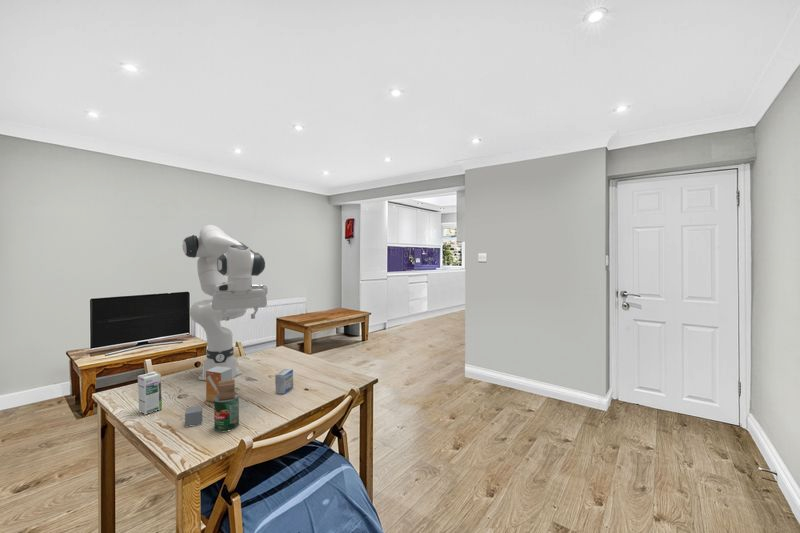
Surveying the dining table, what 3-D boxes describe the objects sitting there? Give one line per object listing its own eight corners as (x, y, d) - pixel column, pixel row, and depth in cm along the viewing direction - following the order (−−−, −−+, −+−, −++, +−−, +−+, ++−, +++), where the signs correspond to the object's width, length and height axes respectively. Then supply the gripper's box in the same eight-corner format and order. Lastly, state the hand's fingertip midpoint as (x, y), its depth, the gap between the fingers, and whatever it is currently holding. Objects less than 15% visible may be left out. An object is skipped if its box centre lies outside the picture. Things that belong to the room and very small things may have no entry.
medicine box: (284, 394, 151) (284, 375, 151) (275, 393, 152) (275, 374, 152) (293, 387, 159) (293, 369, 158) (284, 386, 160) (284, 368, 159)
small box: (205, 401, 144) (205, 370, 143) (218, 395, 150) (217, 365, 149) (221, 404, 141) (220, 372, 141) (233, 397, 147) (232, 367, 147)
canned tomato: (242, 420, 128) (241, 391, 127) (234, 431, 120) (234, 400, 119) (219, 421, 127) (219, 392, 126) (210, 432, 119) (209, 401, 119)
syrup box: (145, 415, 131) (144, 378, 130) (138, 411, 134) (137, 375, 133) (162, 409, 136) (161, 373, 135) (155, 406, 139) (154, 370, 138)
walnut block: (219, 394, 124) (219, 381, 124) (234, 392, 126) (234, 379, 126) (218, 400, 120) (218, 386, 119) (234, 397, 122) (234, 384, 122)
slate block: (186, 421, 127) (186, 408, 127) (202, 418, 129) (202, 405, 129) (185, 427, 123) (184, 414, 122) (201, 424, 125) (201, 411, 124)
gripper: (266, 283, 146) (266, 316, 147) (211, 285, 137) (212, 320, 138) (268, 285, 141) (268, 318, 141) (211, 287, 131) (211, 323, 132)
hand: (240, 319), depth 139 cm, fingers open, 8 cm apart
